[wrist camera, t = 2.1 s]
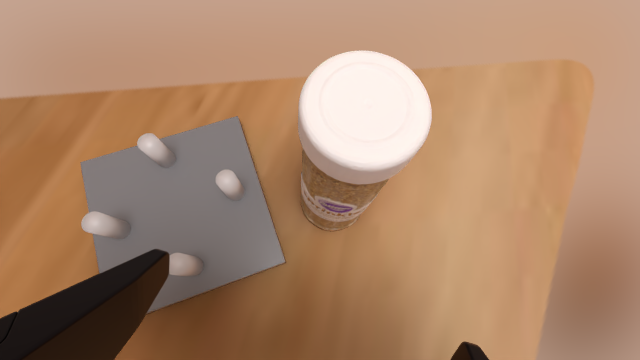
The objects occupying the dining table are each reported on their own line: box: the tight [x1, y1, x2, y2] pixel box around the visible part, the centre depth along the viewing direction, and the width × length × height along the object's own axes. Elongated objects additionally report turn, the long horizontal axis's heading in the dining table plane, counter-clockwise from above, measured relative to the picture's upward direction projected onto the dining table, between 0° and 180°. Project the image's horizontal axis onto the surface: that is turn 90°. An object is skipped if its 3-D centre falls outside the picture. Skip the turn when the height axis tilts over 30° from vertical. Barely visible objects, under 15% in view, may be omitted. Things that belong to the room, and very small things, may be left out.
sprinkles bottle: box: [298, 51, 432, 231], centre depth 17 cm, size 5×5×13 cm
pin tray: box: [80, 116, 286, 314], centre depth 21 cm, size 11×11×4 cm
